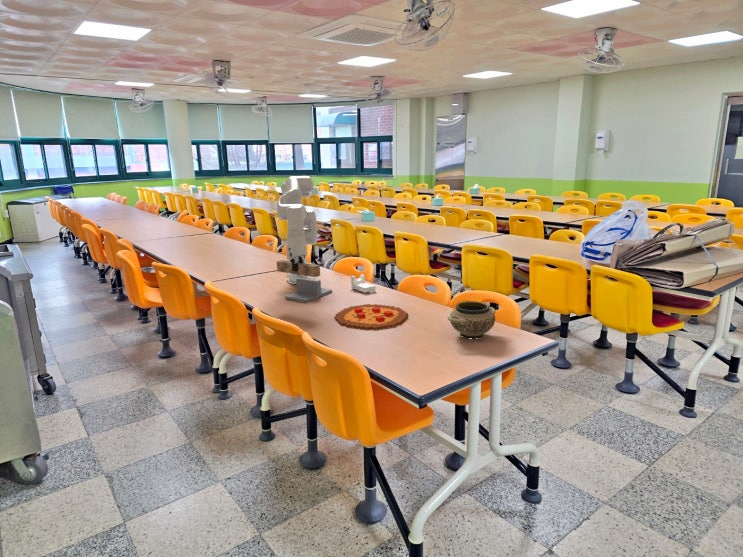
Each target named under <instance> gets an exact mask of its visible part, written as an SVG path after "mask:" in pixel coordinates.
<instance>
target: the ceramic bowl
mask: <svg viewBox="0 0 743 557" xmlns="http://www.w3.org/2000/svg"><path fill="white" fill-rule="evenodd" d="M495 313H496V309H495V308H494V307H492V306H490V305H489V304H487V303H485V302H482V301H478V300H466V301H460V302H458V303H456V304H455V308H454V309H453V310H452V311H451V312H450V314H449V316H447V321H449V322H450V324H451V327H452V328H453V329H454V330H455V331H457V332H458V333H459V335H460V337H461V336H463V337H465V338H472V339H475V338H481V339H483V338H484V337H483V336H485V334H486V333H488V332H489V331H490V330H491V329H492V328H493V327H494V325H495V322H496V316H495V315H496V314H495ZM463 337H462V338H463ZM482 337H483V338H482ZM465 338H464V339H465ZM472 339H471V340H472ZM475 340H476V339H475Z"/></svg>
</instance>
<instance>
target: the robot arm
mask: <svg viewBox="0 0 743 557" xmlns="http://www.w3.org/2000/svg"><path fill="white" fill-rule="evenodd" d="M314 185H315V184H314V181H313V178H312V177H310V176H309V175H308V176H307V175H301V176H299V175H298V176H297V175H296V176H295V175H294V176H289V177H288V178H286V180H285V181H284V182H282V183H281V185H280V190H281V194H282V195H281V196H280V197H279V198H278V199H277V201H276V202H277V203H276V216H277V219H278V220H280V221H287V224H286V225H287V232H286V244H285V247H286V248H285V249H286V250H285V251H286V259H287V261H291V263H292V271H296V272H297V271H298V263H297V262H299V263H306V264H307V255H308V252H307V246H309V245H315V244H317V241H318V230H317V228H318V226H317V225H318V224H317V215H316V212H315V211H314V210H312V209H307V207H306V206H305V205H304V204H303V201H302V199H303V198H309V197H312V196H313V195H314V188H315V186H314ZM285 276H286V278H289V279H288V283H289V284H291V285H297V282H296V277H299V276H302V277H308V276H304V275H298V274H291V273H286V275H285Z"/></svg>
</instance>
